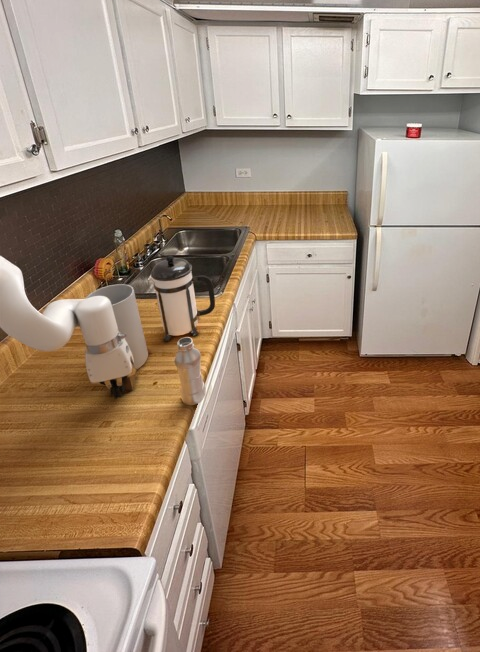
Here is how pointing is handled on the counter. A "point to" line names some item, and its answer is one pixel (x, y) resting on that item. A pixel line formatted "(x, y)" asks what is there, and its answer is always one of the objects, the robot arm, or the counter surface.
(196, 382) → the plastic bottle
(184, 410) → the counter surface
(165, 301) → the coffee press
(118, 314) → the cylinder vase
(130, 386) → the walnut block
